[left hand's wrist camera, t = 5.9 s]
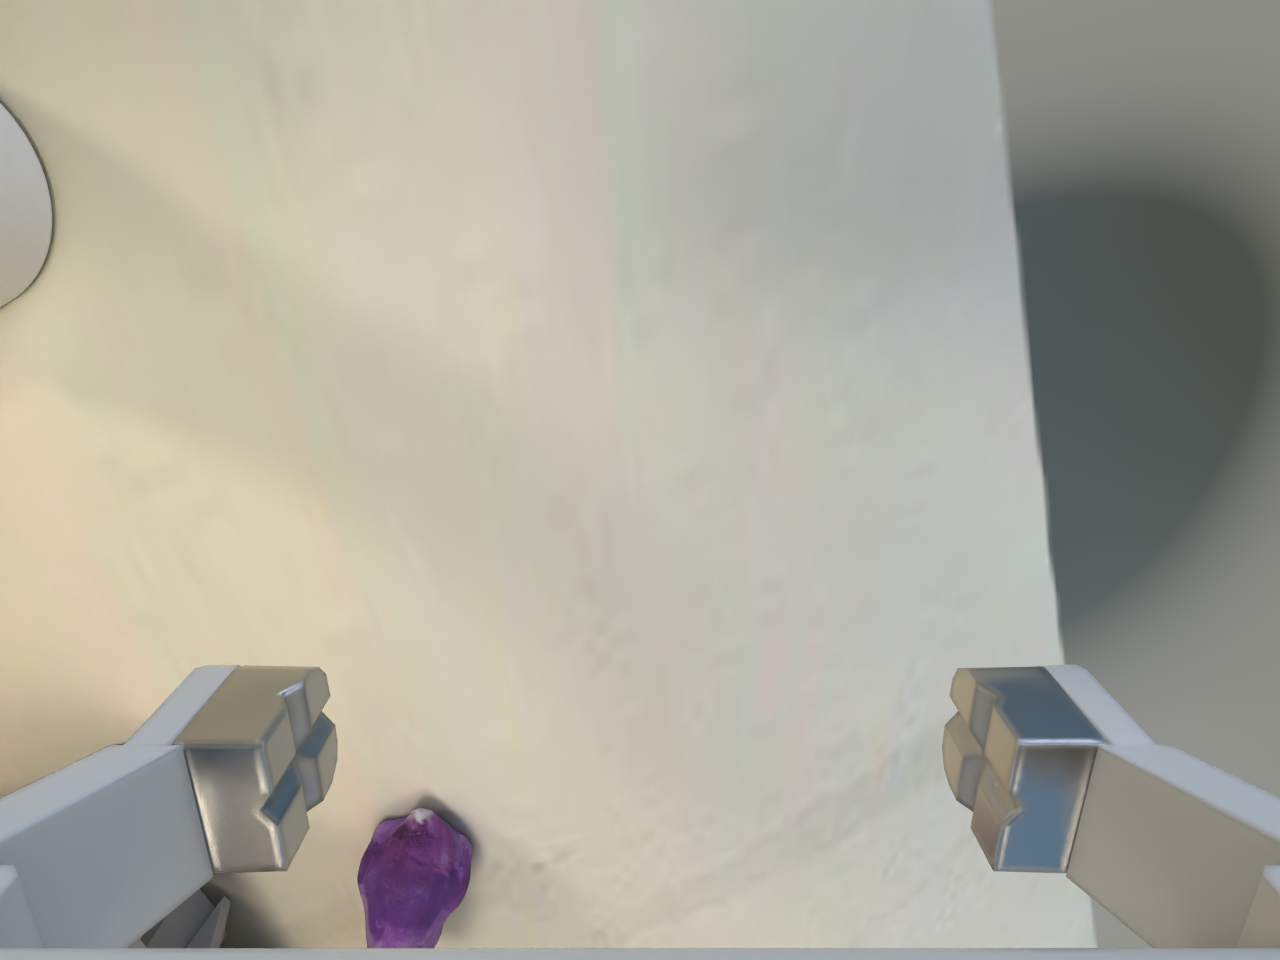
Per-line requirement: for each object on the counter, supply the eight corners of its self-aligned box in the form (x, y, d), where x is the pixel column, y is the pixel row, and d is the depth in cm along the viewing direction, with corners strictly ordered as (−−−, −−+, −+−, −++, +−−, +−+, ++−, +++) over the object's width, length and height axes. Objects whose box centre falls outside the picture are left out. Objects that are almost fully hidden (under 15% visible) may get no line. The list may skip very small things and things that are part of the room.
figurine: (429, 920, 66) (372, 1119, 52) (340, 846, 63) (254, 1035, 49) (514, 866, 64) (478, 1058, 50) (425, 786, 61) (361, 966, 47)
